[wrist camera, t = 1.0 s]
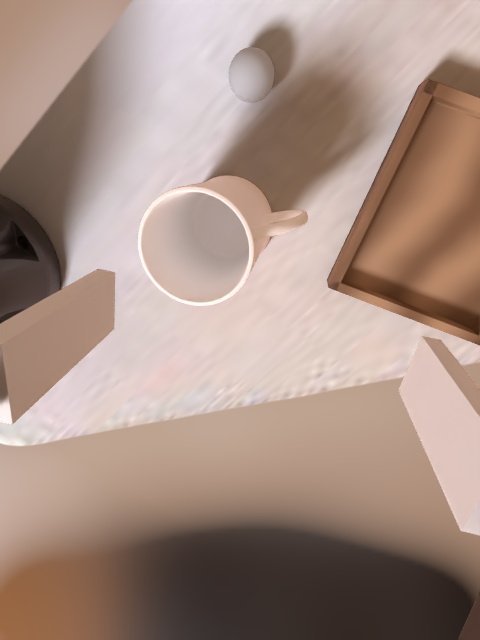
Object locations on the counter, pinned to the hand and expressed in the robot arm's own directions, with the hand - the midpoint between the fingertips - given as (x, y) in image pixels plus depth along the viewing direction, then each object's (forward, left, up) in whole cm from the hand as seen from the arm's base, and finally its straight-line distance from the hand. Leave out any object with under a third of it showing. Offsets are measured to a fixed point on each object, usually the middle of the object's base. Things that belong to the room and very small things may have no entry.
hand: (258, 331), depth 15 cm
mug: (-4, 0, -21) cm, 22 cm away
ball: (-7, +11, -21) cm, 25 cm away
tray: (+13, +6, -21) cm, 26 cm away
